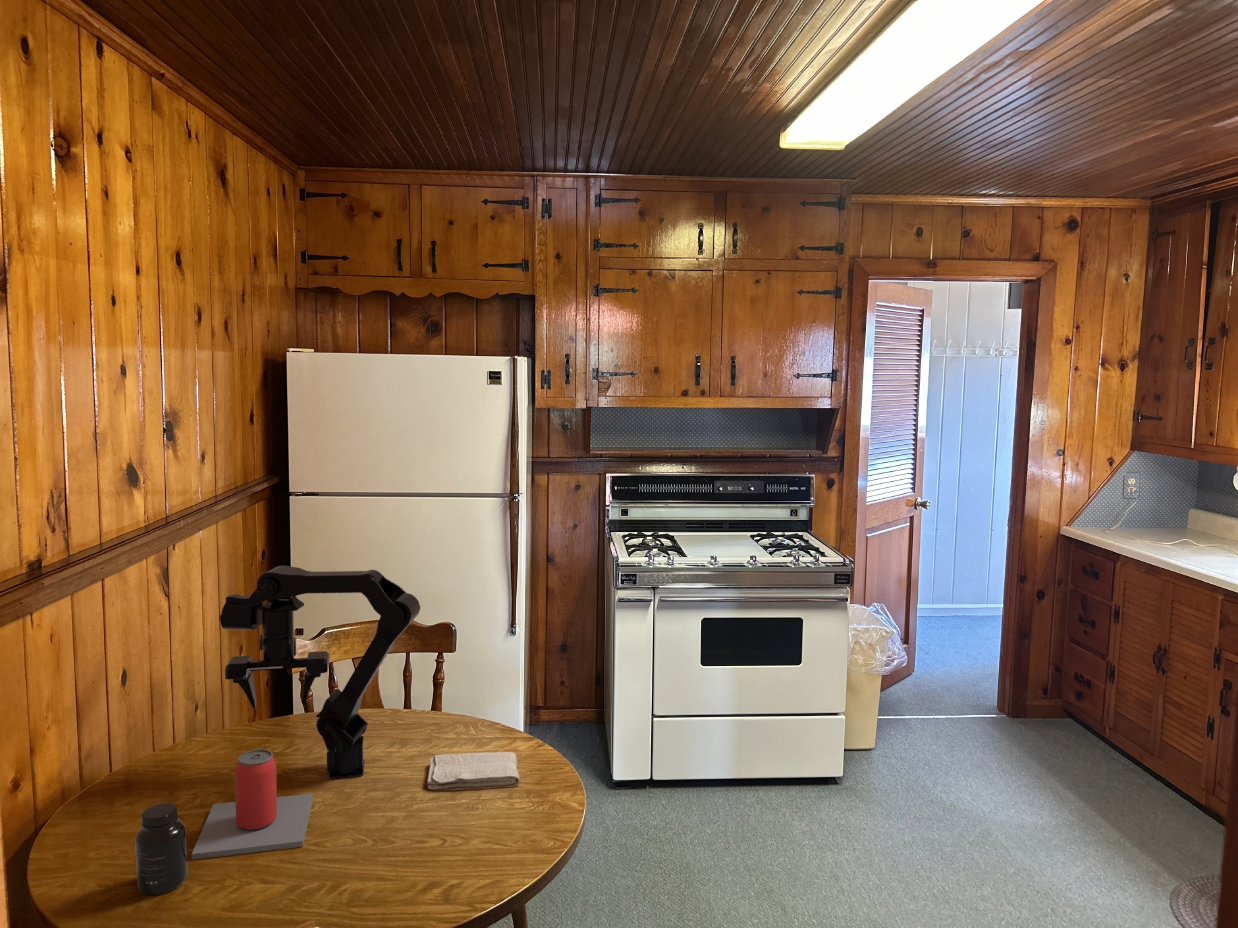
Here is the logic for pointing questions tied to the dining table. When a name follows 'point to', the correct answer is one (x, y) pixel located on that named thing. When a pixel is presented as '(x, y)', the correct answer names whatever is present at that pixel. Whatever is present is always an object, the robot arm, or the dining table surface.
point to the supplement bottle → (161, 850)
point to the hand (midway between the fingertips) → (279, 705)
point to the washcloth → (473, 771)
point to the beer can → (255, 789)
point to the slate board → (232, 840)
